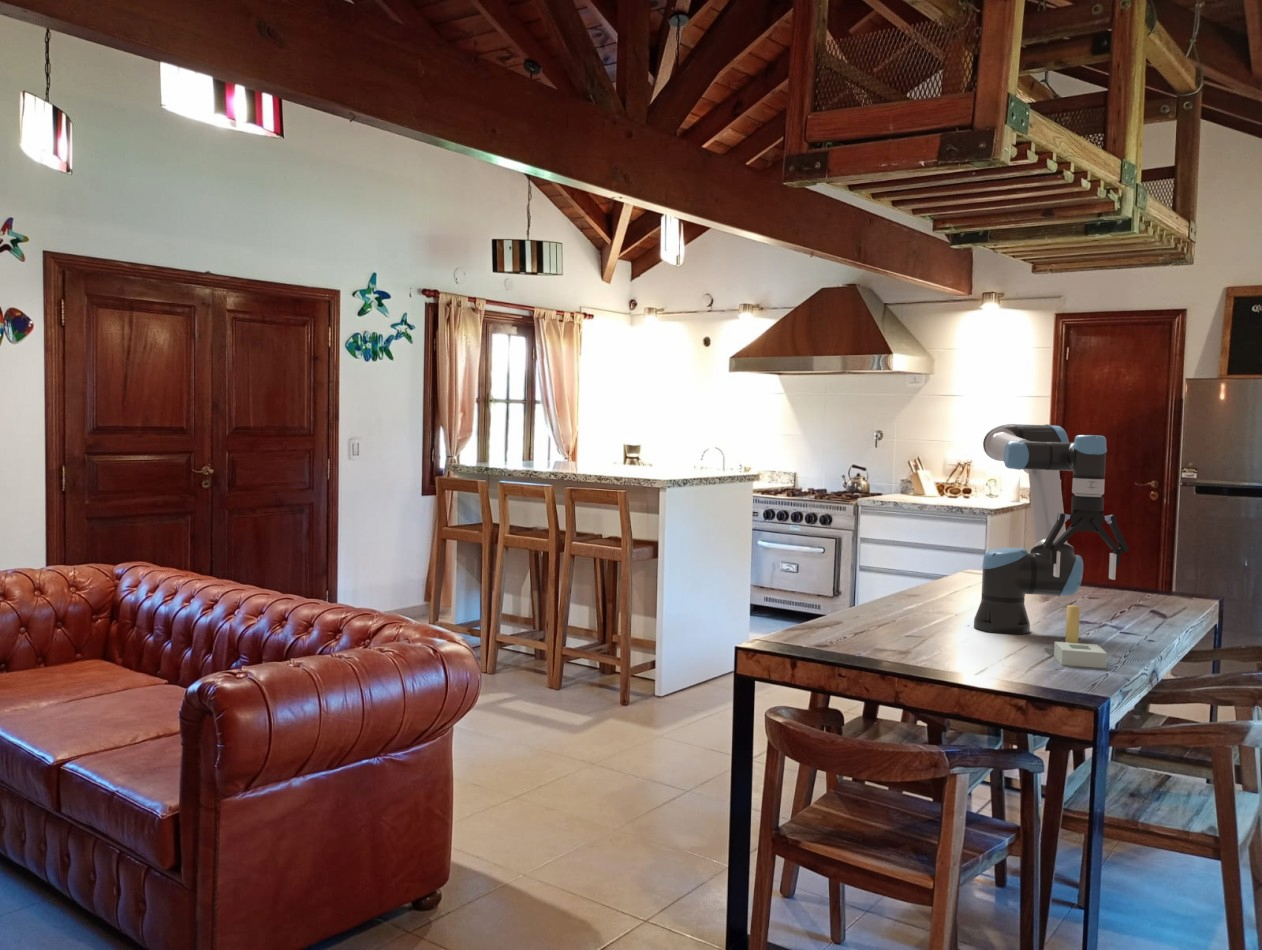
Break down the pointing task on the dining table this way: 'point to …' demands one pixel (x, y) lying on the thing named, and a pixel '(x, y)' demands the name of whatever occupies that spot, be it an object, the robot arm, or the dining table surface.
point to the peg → (1072, 624)
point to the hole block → (1080, 654)
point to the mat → (1049, 651)
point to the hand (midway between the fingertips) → (1084, 578)
